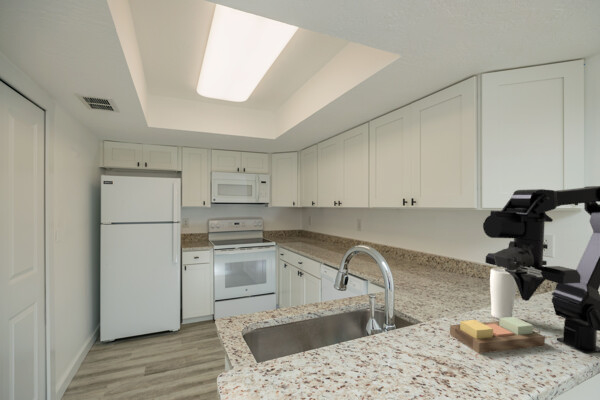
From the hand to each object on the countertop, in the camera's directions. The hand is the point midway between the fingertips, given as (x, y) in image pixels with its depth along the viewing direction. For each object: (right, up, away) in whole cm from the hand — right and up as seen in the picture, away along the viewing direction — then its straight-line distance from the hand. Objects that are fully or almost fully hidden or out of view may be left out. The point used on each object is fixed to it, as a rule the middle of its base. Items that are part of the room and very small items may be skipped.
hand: (525, 300), depth 67 cm
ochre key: (-11, -10, +2) cm, 15 cm away
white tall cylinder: (+7, -12, +17) cm, 22 cm away
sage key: (+1, -10, +5) cm, 11 cm away
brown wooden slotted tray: (-5, -12, +3) cm, 13 cm away
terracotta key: (-5, -12, +3) cm, 13 cm away
